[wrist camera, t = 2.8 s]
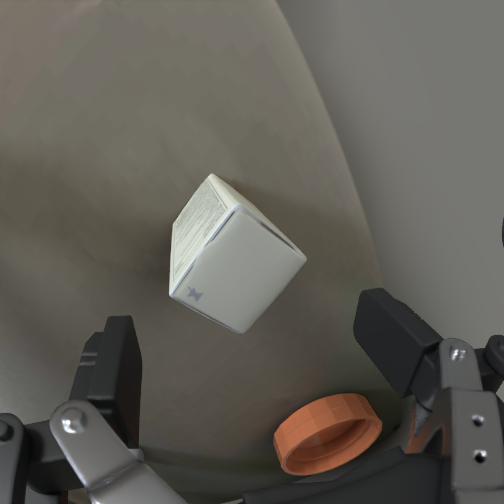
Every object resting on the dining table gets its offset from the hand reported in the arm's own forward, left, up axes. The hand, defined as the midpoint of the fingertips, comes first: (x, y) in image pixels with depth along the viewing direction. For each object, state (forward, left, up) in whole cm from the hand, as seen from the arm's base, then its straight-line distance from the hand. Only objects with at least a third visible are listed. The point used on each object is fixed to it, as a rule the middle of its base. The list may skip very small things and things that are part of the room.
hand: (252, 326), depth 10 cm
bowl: (-13, +30, -15) cm, 36 cm away
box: (0, 0, -15) cm, 15 cm away
